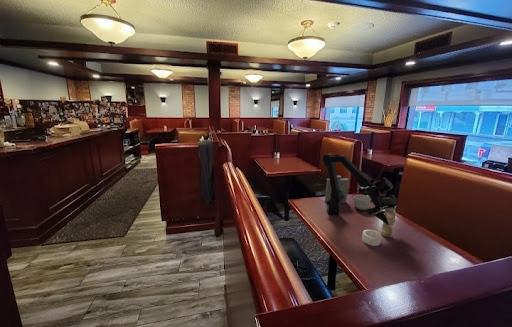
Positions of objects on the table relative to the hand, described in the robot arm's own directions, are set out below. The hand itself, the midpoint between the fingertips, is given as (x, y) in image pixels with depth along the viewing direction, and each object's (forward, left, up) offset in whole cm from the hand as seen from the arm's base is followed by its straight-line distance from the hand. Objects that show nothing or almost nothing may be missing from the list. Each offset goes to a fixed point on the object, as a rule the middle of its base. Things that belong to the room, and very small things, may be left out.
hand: (391, 223), depth 119 cm
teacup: (-4, +35, -8) cm, 36 cm away
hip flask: (-21, +41, -8) cm, 47 cm away
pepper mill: (-1, +1, -8) cm, 8 cm away
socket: (-11, -6, -8) cm, 15 cm away
